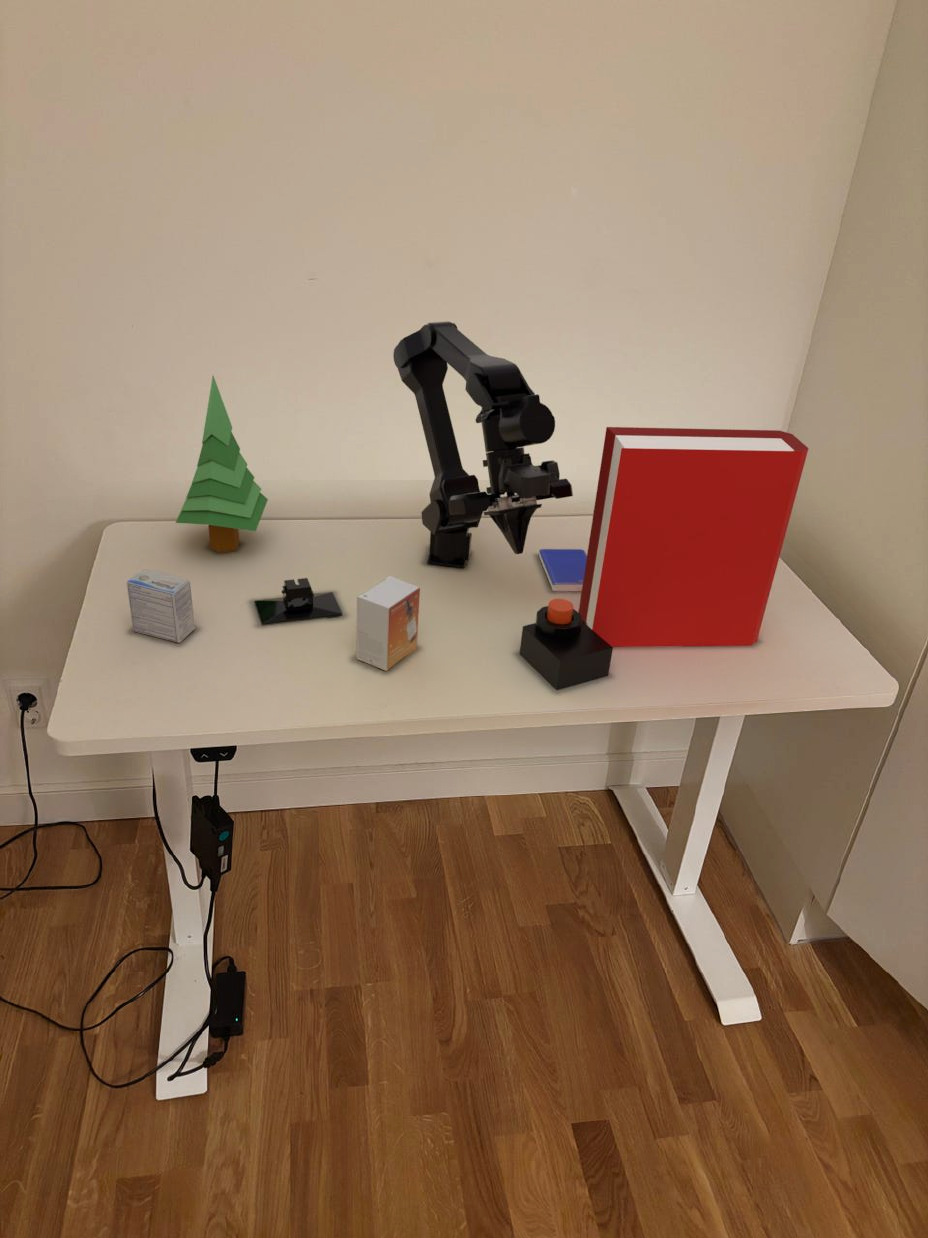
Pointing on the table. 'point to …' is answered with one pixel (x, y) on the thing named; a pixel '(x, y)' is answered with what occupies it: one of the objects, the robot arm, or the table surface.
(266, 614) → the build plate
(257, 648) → the table surface
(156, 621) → the medicine box
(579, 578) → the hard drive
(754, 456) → the book
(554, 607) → the button
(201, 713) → the table surface
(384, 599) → the small box
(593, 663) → the button base
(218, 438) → the decorative tree
